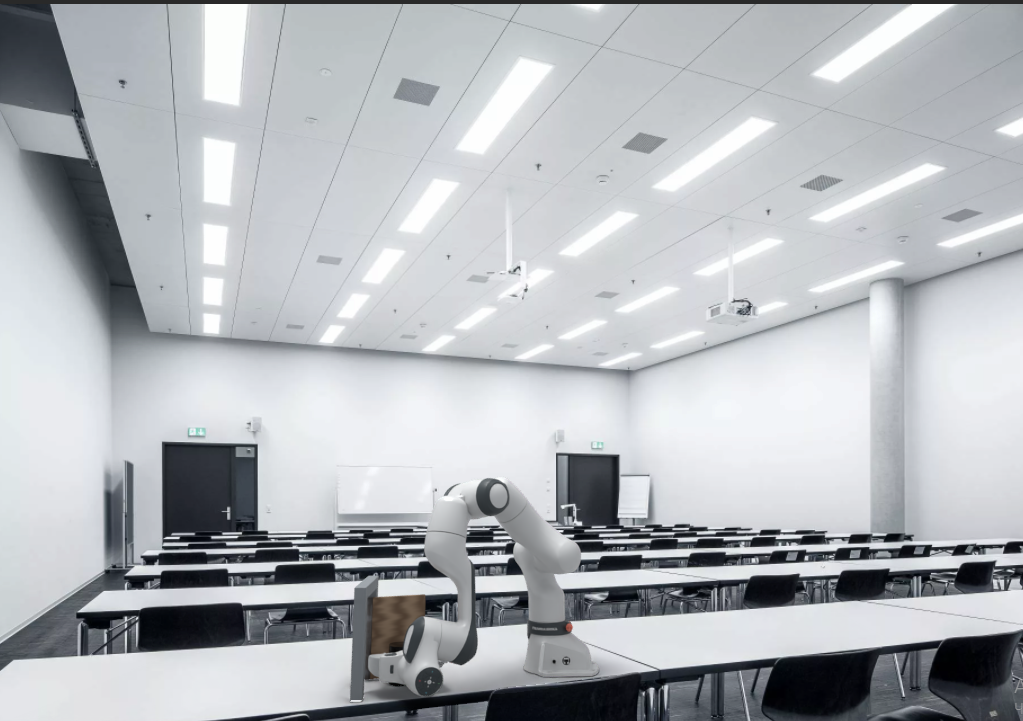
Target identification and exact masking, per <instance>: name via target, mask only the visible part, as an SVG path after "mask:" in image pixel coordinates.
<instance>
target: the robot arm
mask: <svg viewBox="0 0 1023 721" xmlns="http://www.w3.org/2000/svg"><path fill="white" fill-rule="evenodd" d="M487 517H494V518H495V519H496V521H497V522H498V523H499V525H500V526H501V527H502V528H503V530H504V531H505V532H506V533H507V534H508V536H509V538H511V540H513V541H514V542H515V544H514V546H513V555H512V556H513V558H514V560H515V562H516V563H517V565H518V566H519V568H520V569H521V572H522V575H523V577H524V581H525V583H526V584H525V585H526V588H527V595H528V619H527V621H526V636H527V640H528V641H527V648H526V649H527V650H526V656H525V662H524V664H523V665H524V666H523V669H524V670H525V671H526V672H528V673H532V674H535V675H538V676H540V677H543V678H550V677H551V678H552V677H553V678H554V677H555V678H558V677H559V678H562V677H593V676H595V675H597V674H598V673H599V671H600V670H599V665H598V663H597V662H595V661H594V660H593V661H592V655H591V652H590V649H589V647H588V646H587V644H586V643H585V642H583V641H582V640H581V639H580V638H578V636H576V635H575V634H573V633H572V632H573V631H572V630H574V629H573V628H574V626H573V624H572V622H571V620H568V619H566V609H565V608H566V604H565V603H566V602H565V601H566V600H565V598H566V597H565V593H564V590H563V588H561V586H560V585H559V583H558V582H557V579H556V576H555V575H567V574H571V573H573V572H575V571H576V570H578V568H579V566H580V564H581V561H582V552H581V548H580V546H579V545H578V543H577V542H575V541H573V539H572V540H571V539H570V538H568V537H567V536H565V535H563V534H562V533H561V532H559V530H557V529H556V528H555V527H554V526H552V524H550V523H549V522H548V521H547V520H545V519H544V518H543V516H541V514H540V513H539V512H538V511H537V509H535V507H534V506H533V505H532V503H531V502H530V501H529V499H528V498H527V497H526V495H525V494H524V493H523V492H522V490H520V489H519V488H518V486H516V484H515V483H513V482H512V481H511V480H510V478H509V479H508V477H504V476H497V477H495V478H491V477H487V478H479V479H478V478H477V479H471V480H468V481H465V482H462V483H456V484H453V485H452V486H450V487H449V488H448V489H447V490H445V493H444V494H443V496H441V497H439V498H438V499H437V500H436V501H435V503H434V506H433V507H432V510H431V513H430V516H429V520H428V523H427V526H426V527H427V528H426V532H425V533H426V534H425V538H424V547H423V548H424V549H423V550H424V556H425V557H426V560H427V561H428V562H429V564H430V565H431V566H432V567H433V568H434V569H435V570H437V571H438V572H440V573H441V574H443V575H444V576H446V577H447V578H449V579H450V581H452V583H453V584H454V586H455V587H456V591H457V621H450V620H446V619H445V620H444V619H439V618H436V617H429V616H425V617H423V616H421V617H419V618H417V619H416V620H415V621H414V622H413V623H412V624H411V625H410V626H409V627H408V629H407V631H406V634H405V638H404V642H403V650H402V651H399V652H396V653H389V652H387V653H383V654H373V655H370V656H369V658H368V669H369V671H370V672H371V673H372V674H373V675H374V676H376V677H379V679H378V680H379V682H380V683H388V682H390V683H399V684H404V685H406V686H405V687H407V689H408V690H410V691H411V692H412V693H413V694H415V695H417V696H419V697H421V698H424V697H425V698H426V697H430V696H432V695H435V694H436V693H437V692H439V690H440V689H441V688H442V686H443V682H444V674H443V671H442V669H441V668H442V667H444V665H445V664H448V663H450V664H453V665H458V666H464V665H465V664H467V663H469V662H470V661H471V660H472V659H473V658H474V657H475V656H476V654H477V651H478V644H479V643H478V642H479V641H478V640H479V637H478V630H477V616H476V614H477V612H476V611H477V608H476V604H477V603H476V596H477V595H476V571H475V566H474V563H473V562H472V560H470V558H469V556H468V552H467V546H466V544H467V543H466V542H467V534H468V525H469V522H470V520H479V519H482V518H487Z"/></svg>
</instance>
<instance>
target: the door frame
mask: <svg viewBox="0 0 1023 721" xmlns="http://www.w3.org/2000/svg"><path fill="white" fill-rule="evenodd" d="M379 578H380V576H379V575H368V576H367V577H366V578H364V579H363V580H362V581H360V583H358V584H357V585H356V586H355V587H354V592H353V615H352V616H353V620H352V639H351V640H352V642H351V643H352V644H351V664H350V665H351V666H350V686H349V687H350V688H349V689H350V691H349V702H350V701H351V700H362V699H363V697H365V696H364V695H365V680H364V679H365V659H366V632H367V605H368V597H379ZM363 700H364V699H363Z"/></svg>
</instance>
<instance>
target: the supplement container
mask: <svg viewBox="0 0 1023 721" xmlns="http://www.w3.org/2000/svg"><path fill="white" fill-rule="evenodd" d="M403 642H404V641H402V642H393V643H390V644H389V653H396V652H399V651H402V650H403ZM387 683H388V684H389V686H391V685H393V686H392V687H405V686H404V684H399V683H390V682H387Z"/></svg>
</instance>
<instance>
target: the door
mask: <svg viewBox="0 0 1023 721" xmlns="http://www.w3.org/2000/svg"><path fill="white" fill-rule="evenodd" d="M421 616H423V617H426V594H404V595H386V596H378V597H368V605H367V632H366V659H365V680H366V681H367V680H368V681H370V680H369V679H372V680H376V679H377V680H379V677H376V676H374V675H373V674H372V673H371V672H370V671H369V669H368V658H369V656H370V655H373V654H383V653H387V652H389V644H390V643H393V642H402V641H404V638H405V634H406V631H407V629H408V627H409V626H410V625H411V624H412V623H413V622H414V621H415V620H416V619H417V618H419V617H421ZM365 680H364V681H365Z"/></svg>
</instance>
